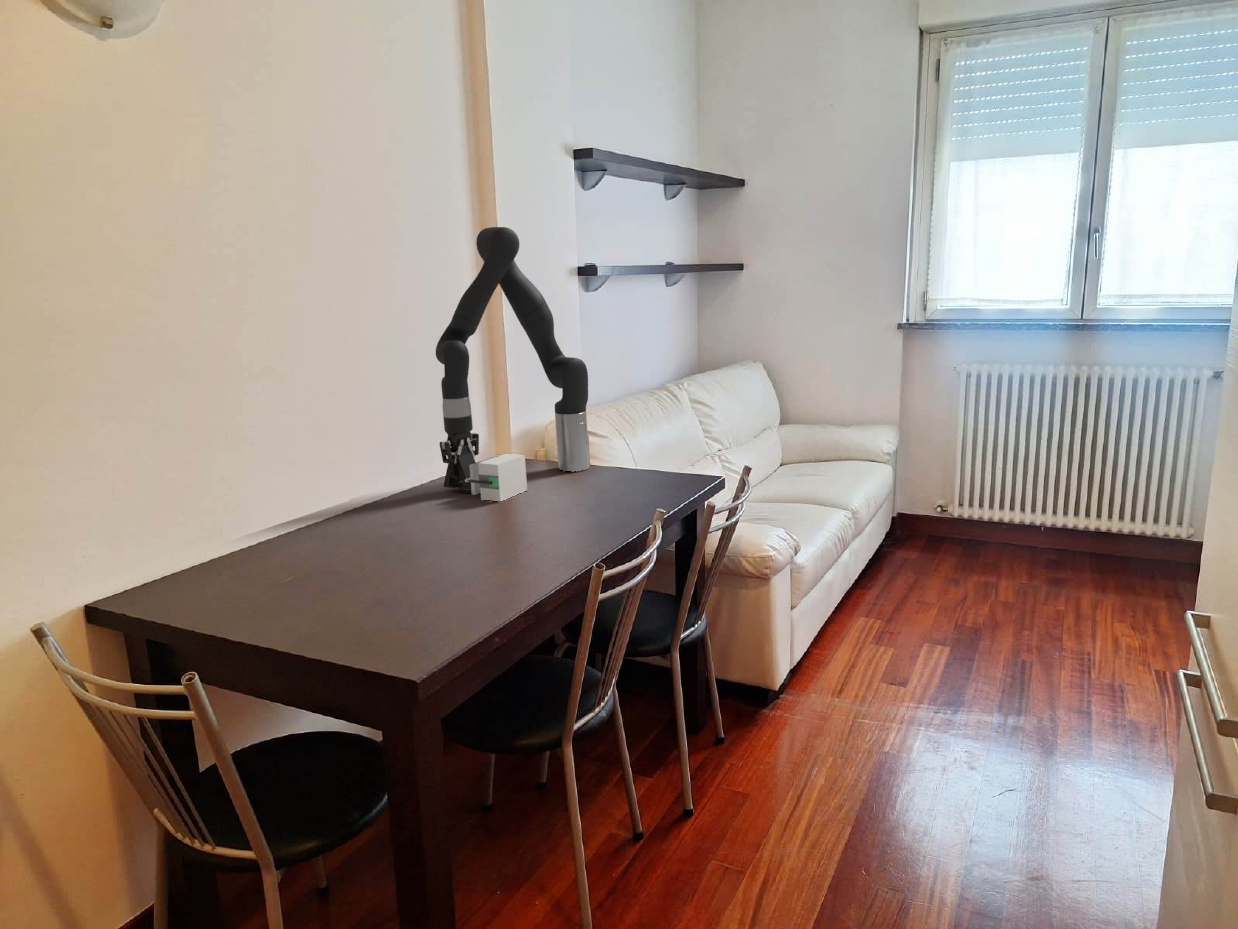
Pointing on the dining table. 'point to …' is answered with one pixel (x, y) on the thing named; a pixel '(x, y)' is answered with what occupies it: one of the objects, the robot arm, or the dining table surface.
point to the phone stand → (460, 470)
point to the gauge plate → (476, 478)
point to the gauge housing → (502, 477)
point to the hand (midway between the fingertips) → (462, 474)
